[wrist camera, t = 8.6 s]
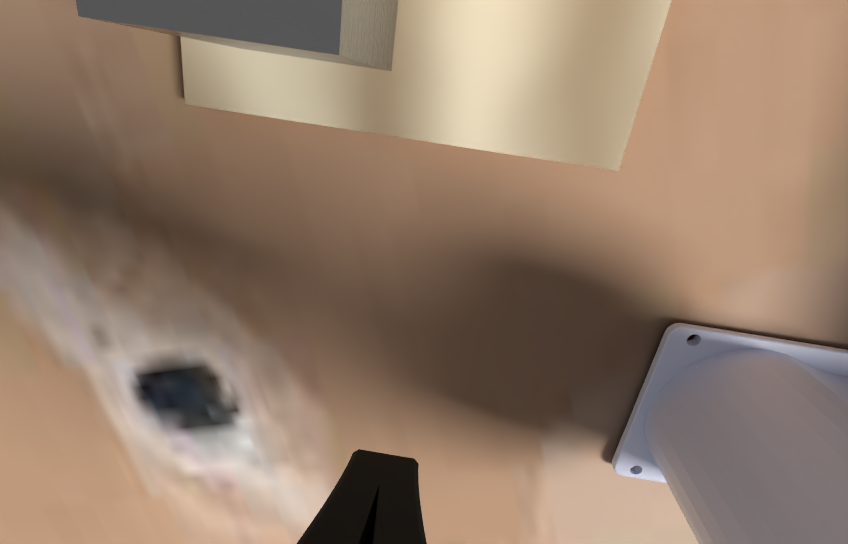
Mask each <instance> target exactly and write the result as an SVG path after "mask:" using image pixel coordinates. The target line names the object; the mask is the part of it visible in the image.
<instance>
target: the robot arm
mask: <svg viewBox="0 0 848 544" xmlns="http://www.w3.org/2000/svg"><path fill="white" fill-rule="evenodd" d="M695 334H696V336H695V338H694V339H692V340H690V341H687V338H688V337H689V336H691V335H695ZM612 466H613V468H614V471H615V472H616V473H617V474H619V475H623V476H629V477H634V478H640V479H646V480H652V481H658V482H664V483H667V484H668V485H669V487H670V489H671V491H672V493H673V495H674V497H675V499H676V501H677V503H678V505H679V506H680V508H681V510H682V512H683V514H684V516H685V518H686V520H687V522H688V524H689V525H690V527H691V529H692V531H693V533H694V535H695V537H696V539H697V541H698V543H699V544H848V350H846V349H840V348H834V347H828V346H821V345H815V344H809V343H803V342H797V341H790V340H784V339H778V338H772V337H766V336H759V335H753V334H747V333H741V332H735V331H728V330H722V329H716V328H710V327H703V326H697V325H691V324H685V323H675V324H672V325H671V326H669V327H668V328H667V329H666V331H665V333H664V335H663V337H662V340H661V342H660V345H659V347H658V350H657V352H656V354H655V357H654V359H653V362H652V364H651V367H650V369H649V372H648V374H647V376H646V379H645V381H644V384H643V386H642V389H641V391H640V394H639V396H638V398H637V401H636V403H635V406H634V408H633V411H632V413H631V416H630V418H629V420H628V423H627V425H626V428H625V430H624V433H623V435H622V437H621V440H620V442H619V445H618V447H617V450H616V452H615V455H614V457H613V459H612ZM633 466H636V467H633ZM297 544H427V543H426V538H425V532H424V526H423V520H422V513H421V506H420V497H419V485H418V463H417V462H416V460H415V459H413V458H407V457H401V456H395V455H389V454H383V453H377V452H371V451H365V450H360V449H359V450H357V451H355V452H353V454H352V457H351V459H350V461H349V463H348V465H347V467H346V469H345V470H344V472H343V474H342V476H341V478H340V479H339V481H338V483H337V484H336V486H335V488H334V489H333V491H332V492H331V494H330V496H329V497H328V499H327V500H326V502H325V504H324V505H323V507H322V508H321V509H320V511H319V512H318V514H317V515H316V517H315V518H314V520H313V521H312V523H311V524H310V525H309V527H308V528H307V530H306V531H305V533H304V534H303V536H302V537H301V538H300V540H299V541H298V542H297Z"/></svg>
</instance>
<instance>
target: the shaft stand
mask: <svg viewBox="0 0 848 544" xmlns="http://www.w3.org/2000/svg"><path fill="white" fill-rule="evenodd" d="M76 2H77V9H78V16H81V17H86V18H91V19H96V20H100V21H105V22H110V23H115V24H120V25H125V26H130V27H135V28H140V29H145V30H150V31H155V32H160V33H165V34H170V35H175V36H180V39H181V53H182V68H183V82H184V96H185V104H186V105H193V106H199V107H206V108H212V109H218V110H225V111H231V112H238V113H244V114H251V115H257V116H264V117H270V118H277V119H283V120H290V121H296V122H303V123H309V124H316V125H322V126H329V127H335V128H342V129H348V130H355V131H361V132H368V133H374V134H381V135H387V136H394V137H400V138H407V139H413V140H420V141H426V142H433V143H439V144H446V145H452V146H459V147H465V148H472V149H478V150H485V151H491V152H498V153H504V154H510V155H517V156H523V157H530V158H536V159H543V160H549V161H556V162H562V163H569V164H575V165H582V166H588V167H595V168H601V169H608V170H614V171H619V168H620V165H621V162H622V158H623V155H624V152H625V149H626V145H627V142H628V139H629V136H630V133H631V129H632V126H633V123H634V120H635V116H636V113H637V110H638V107H639V104H640V100H641V97H642V94H643V91H644V87H645V84H646V81H647V78H648V75H649V71H650V68H651V65H652V62H653V58H654V55H655V52H656V49H657V46H658V42H659V39H660V36H661V33H662V29H663V26H664V23H665V20H666V17H667V13H668V10H669V7H670V4H671V0H76Z"/></svg>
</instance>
